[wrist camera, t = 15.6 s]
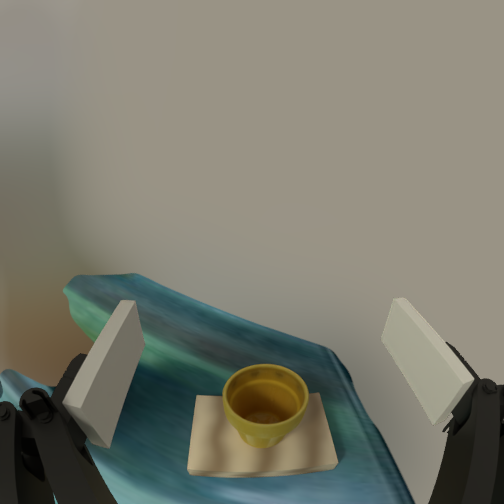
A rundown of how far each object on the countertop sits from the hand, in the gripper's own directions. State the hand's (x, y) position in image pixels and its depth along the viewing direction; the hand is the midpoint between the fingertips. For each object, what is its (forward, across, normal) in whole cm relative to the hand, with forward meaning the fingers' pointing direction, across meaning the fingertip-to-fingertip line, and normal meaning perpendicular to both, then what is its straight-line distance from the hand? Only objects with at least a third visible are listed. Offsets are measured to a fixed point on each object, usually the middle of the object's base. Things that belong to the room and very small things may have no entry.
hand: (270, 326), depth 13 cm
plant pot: (+10, +2, -28) cm, 30 cm away
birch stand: (+10, +2, -30) cm, 32 cm away
